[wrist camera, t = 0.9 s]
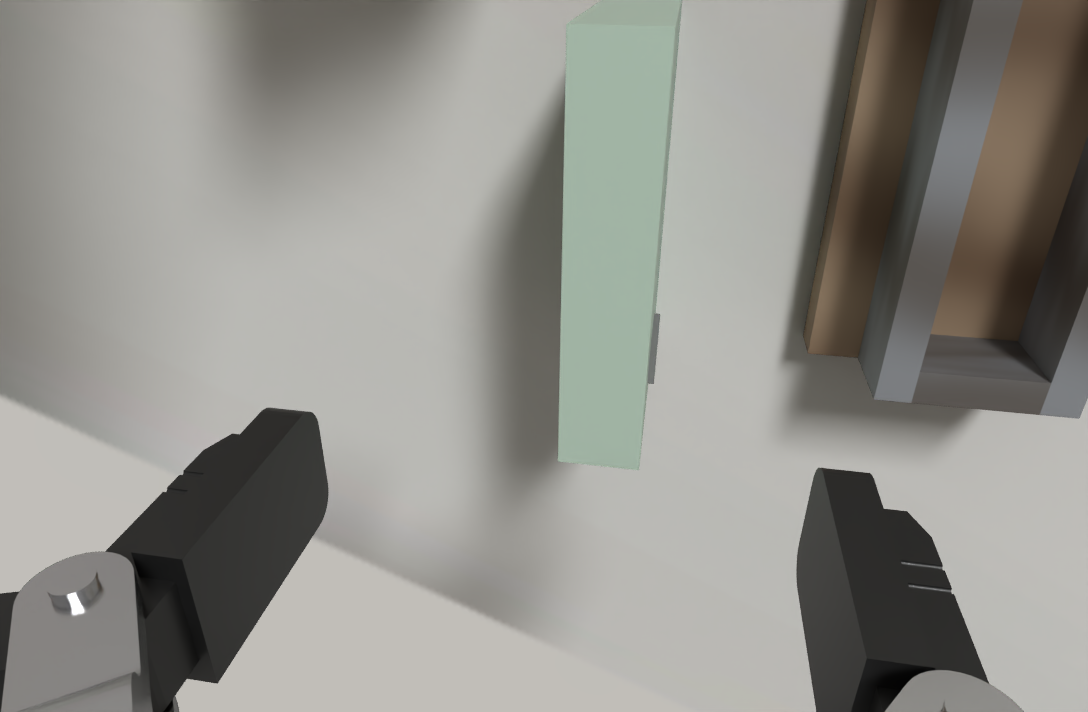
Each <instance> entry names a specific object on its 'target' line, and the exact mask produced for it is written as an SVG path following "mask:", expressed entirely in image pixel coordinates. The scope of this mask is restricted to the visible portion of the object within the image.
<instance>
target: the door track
mask: <svg viewBox="0 0 1088 712" xmlns="http://www.w3.org/2000/svg"><path fill="white" fill-rule="evenodd" d="M803 337H804V340H805V344H806V348H807V352H808V353H809V354H821V355H833V356H844V357H856V358H858V359H859V362H860V364H861V367H862V370H863V372H864V375H865V377H866V380H867V383H868V385H869V388H870V391H871V393H872V396H873V398H874V400H885V401H896V402H906V403H917V404H928V405H939V406H949V407H960V408H971V409H982V410H992V411H1003V412H1014V413H1025V414H1036V415H1046V416H1057V417H1068V418H1080V416H1081V413H1082V411H1083V408H1084V406H1085V403H1086V401H1087V398H1088V0H867V1H866V6H865V12H864V17H863V22H862V28H861V33H860V38H859V43H858V49H857V54H856V59H855V65H854V70H853V75H852V80H851V86H850V91H849V96H848V101H847V107H846V112H845V117H844V123H843V128H842V133H841V138H840V144H839V149H838V154H837V160H836V165H835V170H834V175H833V181H832V186H831V191H830V197H829V202H828V207H827V212H826V218H825V223H824V228H823V234H822V239H821V244H820V249H819V255H818V260H817V265H816V271H815V276H814V281H813V286H812V292H811V297H810V302H809V308H808V313H807V318H806V323H805V329H804V334H803Z"/></svg>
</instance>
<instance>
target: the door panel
mask: <svg viewBox="0 0 1088 712" xmlns="http://www.w3.org/2000/svg"><path fill="white" fill-rule="evenodd" d="M681 7H682V0H601V1H600V2H598V3H597V4H595V5H594V6H592V7H591V8H589V9H588V10H586V11H585V12H583V13H582V14H580V15H579V16H577V17H576V18H575V19H573V20H572V21H570V22H569V23H567V25H566V76H565V126H564V177H563V228H562V278H561V329H560V379H559V430H558V461H559V462H568V463H577V464H586V465H595V466H604V467H613V468H622V469H632V470H639V464H640V455H641V446H642V436H643V427H644V418H645V408H646V399H647V390H648V383H649V384H654V375H655V365H656V354H657V344H658V333H659V321H660V314H656V302H657V290H658V278H659V266H660V255H661V243H662V231H663V219H664V208H665V196H666V184H667V172H668V160H669V149H670V137H671V125H672V113H673V102H674V90H675V78H676V66H677V54H678V43H679V31H680V19H681Z"/></svg>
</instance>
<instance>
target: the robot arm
mask: <svg viewBox="0 0 1088 712" xmlns="http://www.w3.org/2000/svg"><path fill="white" fill-rule="evenodd" d="M327 502H328V482H327V476H326V469H325V463H324V456H323V450H322V443H321V437H320V431H319V425H318V421H317V418H316V416H315V415H314V414H313V413H312V412H305V411H296V410H286V409H277V408H266V409H264V410H263V411H261V412H260V413H259V414H258V416H257V417H256V418H255V419H254V420H253V421H252V422H251V423H250V424H249V425H248V426H247V427H246V428H245V430H244V431H243V432H242V433H241V434H240V435H239V434H231V435H229V436H228V437H226V438H224V439H222V440H221V441H219V442H217V443H215V444H214V445H212V446H210V447H208V448H207V449H205V450H203V451H202V452H201V453H200V454H199V455H198V456H197V457H196V459H195V460H194V461H193V462H192V463H191V464H190V465H189V466H188V467H187V468H186V469H185V470H184V473H183V475H179V476H178V477H177V478H176V479H175V480H174V481H173V482H172V483H171V484H170V485H169V486H168V488H167V492H163V493H162V494H161V495H160V496H159V497H158V498H157V499H156V500H155V501H154V502H153V503H152V504H151V505H150V506H149V507H148V508H147V509H146V510H145V511H144V512H143V513H142V514H141V515H140V517H138V518H137V519H136V520H135V521H134V523H133V524H132V525H131V526H130V527H129V528H128V529H127V530H126V531H125V532H124V533H123V534H122V535H121V536H120V537H119V538H118V539H117V540H116V541H115V542H114V543H113V544H112V545H111V546H110V547H109V548H108V549H107V550H106V551H105V552H90V553H84V554H80V555H75V556H73V557H69V558H66V559H64V560H62V561H59V562H57V563H55V564H53V565H51V566H49V567H47V568H46V569H44V570H43V571H41V572H39V573H38V574H37V575H36V576H34V577H33V578H32V579H31V580H29V582H27V583H26V584H25V585H24V587H23V588H22V589H21V590H20V592H12V593H2V594H0V712H179V707H178V703H177V700H176V697H175V695H176V693H177V692H178V690H179V689H180V687H181V686H182V685H183V683H184V682H185V680H186V679H193V680H199V681H205V682H211V683H218V682H219V680H220V679H221V677H222V676H223V674H224V673H225V671H226V670H227V668H228V666H229V665H230V663H231V662H232V660H233V659H234V657H235V655H236V654H237V652H238V651H239V649H240V648H241V646H242V645H243V643H244V642H245V640H246V639H247V637H248V635H249V634H250V632H251V631H252V629H253V628H254V626H255V625H256V623H257V621H258V620H259V618H260V617H261V615H262V614H263V612H264V611H265V609H266V608H267V606H268V605H269V603H270V601H271V600H272V598H273V597H274V595H275V594H276V592H277V591H278V589H279V588H280V586H281V584H282V583H283V581H284V580H285V578H286V577H287V575H288V574H289V572H290V570H291V569H292V567H293V566H294V564H295V563H296V561H297V560H298V558H299V556H300V555H301V553H302V552H303V550H304V549H305V547H306V546H307V544H308V543H309V541H310V540H311V538H312V536H313V535H314V533H315V532H316V530H317V529H318V527H319V526H320V524H321V522H322V520H323V517H324V515H325V511H326V508H327ZM942 566H943V565H942V562H941V560H940V557H939V555H938V552H937V550H936V547H935V545H934V542H933V540H932V537H931V536H930V535H929V534H928V533H927V532H926V531H925V530H924V529H923V528H922V527H921V526H920V525H919V524H918V522H917V521H916V520H915V519H914V518H913V517H912V516H911V515H910V514H909V513H908V512H907V511H898V510H890V509H883V505H882V502H881V499H880V496H879V493H878V490H877V487H876V484H875V481H874V478H873V476H872V475H871V474H870V473H863V472H854V471H844V470H835V469H826V468H818V469H817V470H816V472H815V475H814V478H813V482H812V487H811V492H810V496H809V501H808V505H807V510H806V515H805V519H804V524H803V528H802V533H801V538H800V542H799V547H798V555H797V588H798V595H799V602H800V608H801V614H802V621H803V627H804V634H805V640H806V647H807V653H808V660H809V666H810V673H811V679H812V686H813V692H814V699H815V705H816V712H1024V711H1023V710H1022V709H1021V708H1020V707H1019V706H1018V705H1017V704H1016V703H1015V702H1014V701H1013V700H1012V699H1011V698H1009V697H1008V696H1007V695H1006V694H1004V693H1003V692H1001V691H1000V690H998V689H997V688H995V687H994V686H992V685H990V684H989V682H988V680H987V677H986V675H985V672H984V669H983V667H982V664H981V662H980V659H979V657H978V654H977V652H976V649H975V646H974V644H973V641H972V639H971V636H970V634H969V631H968V629H967V626H966V624H965V621H964V618H963V616H962V613H961V611H960V608H959V606H958V603H957V601H956V598H955V596H954V594H952V593H951V589H952V588H951V585H950V583H949V580H948V578H947V575H946V573H945V571H943V570H942Z"/></svg>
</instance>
